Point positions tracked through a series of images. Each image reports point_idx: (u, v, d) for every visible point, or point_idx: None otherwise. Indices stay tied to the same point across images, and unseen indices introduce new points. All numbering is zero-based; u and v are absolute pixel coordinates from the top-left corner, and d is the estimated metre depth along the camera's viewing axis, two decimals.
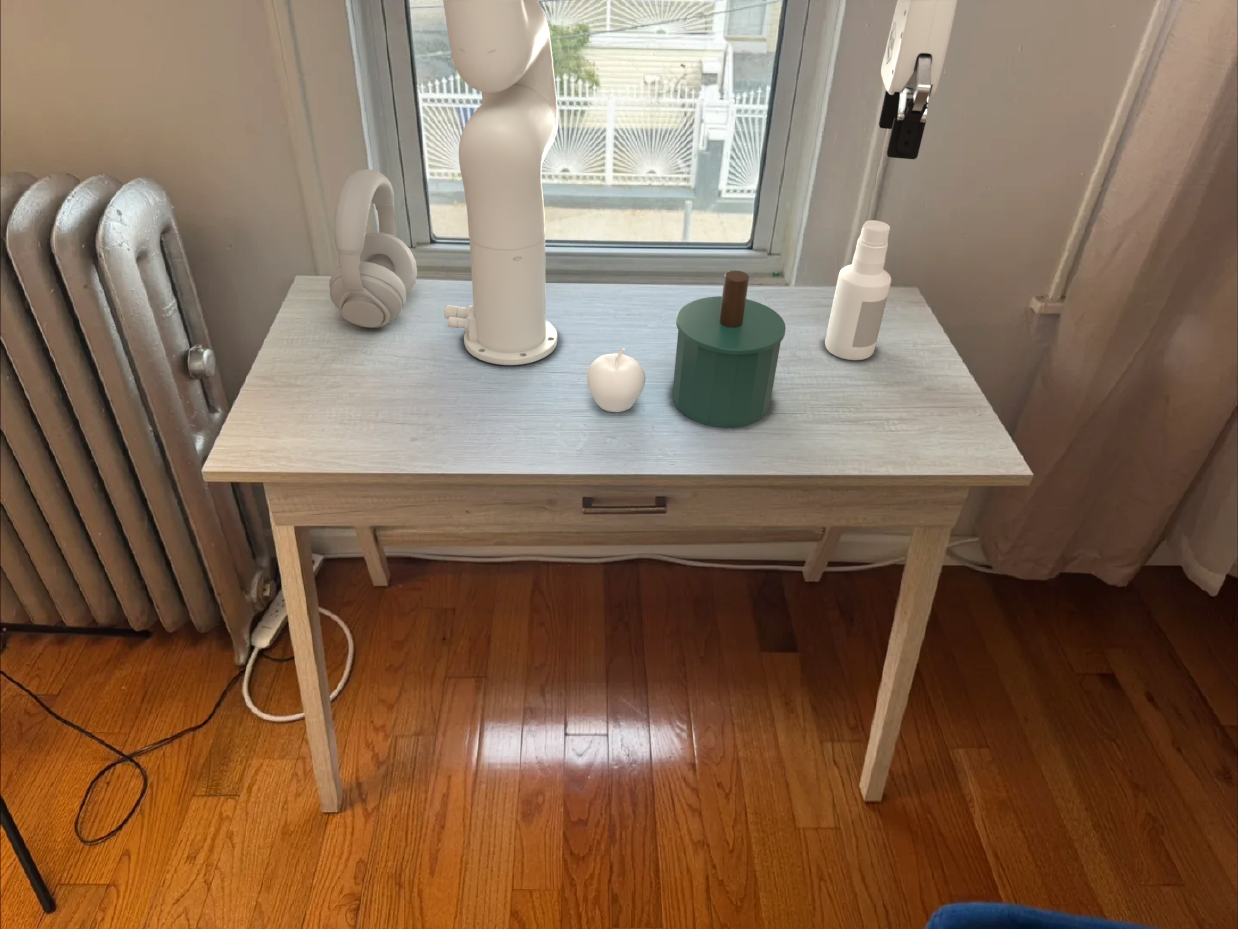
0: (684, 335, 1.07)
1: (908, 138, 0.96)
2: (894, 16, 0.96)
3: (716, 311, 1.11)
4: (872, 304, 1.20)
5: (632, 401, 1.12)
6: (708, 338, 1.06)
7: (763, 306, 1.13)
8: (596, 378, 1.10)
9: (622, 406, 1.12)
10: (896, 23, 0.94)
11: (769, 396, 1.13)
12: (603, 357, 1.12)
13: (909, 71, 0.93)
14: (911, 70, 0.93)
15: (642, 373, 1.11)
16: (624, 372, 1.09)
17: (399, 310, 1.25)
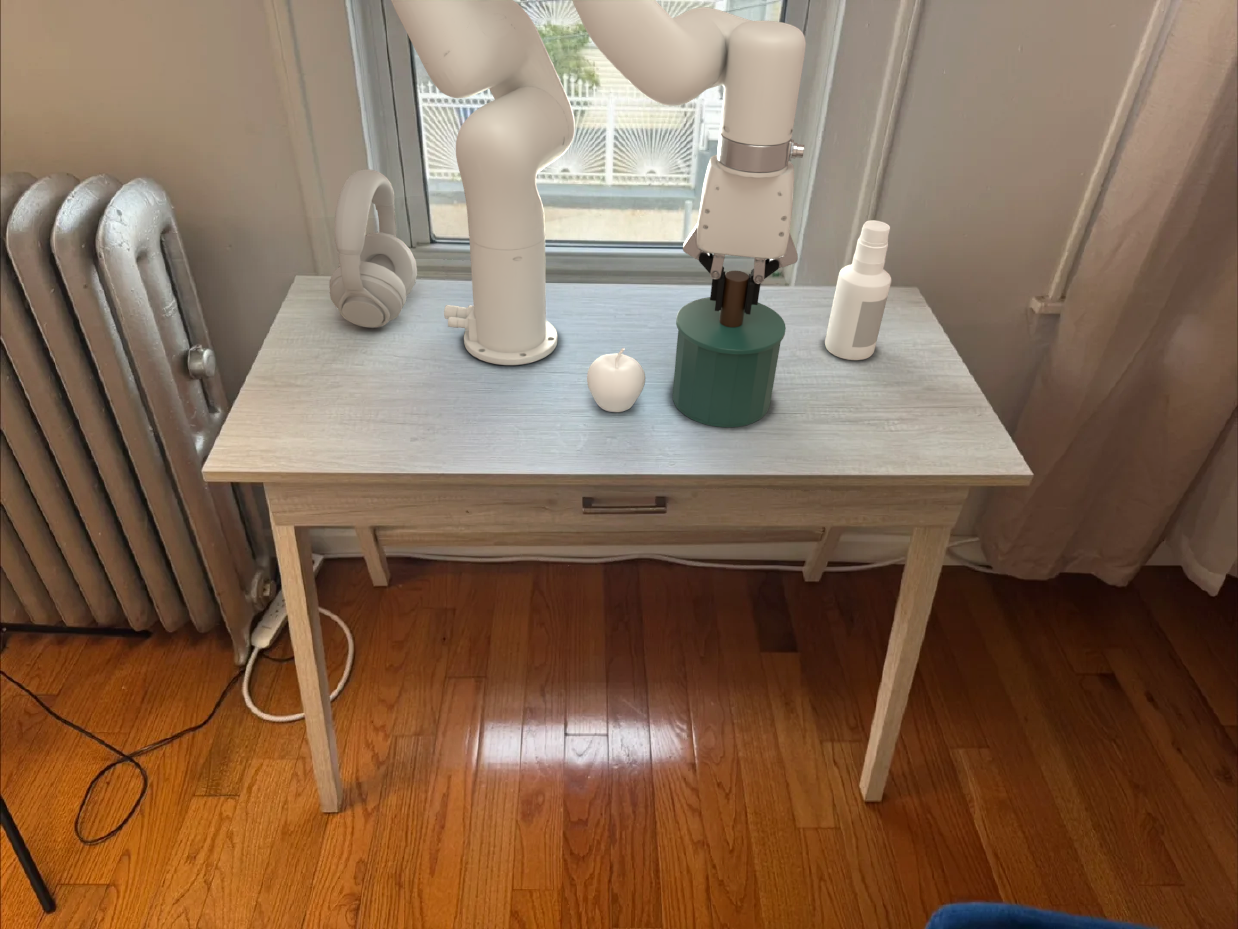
0: (684, 335, 1.07)
1: None
2: None
3: (716, 311, 1.11)
4: (872, 304, 1.20)
5: (632, 401, 1.12)
6: (708, 338, 1.06)
7: (763, 306, 1.13)
8: (596, 378, 1.10)
9: (622, 406, 1.12)
10: None
11: (769, 396, 1.13)
12: (603, 357, 1.12)
13: None
14: (698, 218, 1.03)
15: (642, 373, 1.11)
16: (624, 372, 1.09)
17: (399, 310, 1.25)
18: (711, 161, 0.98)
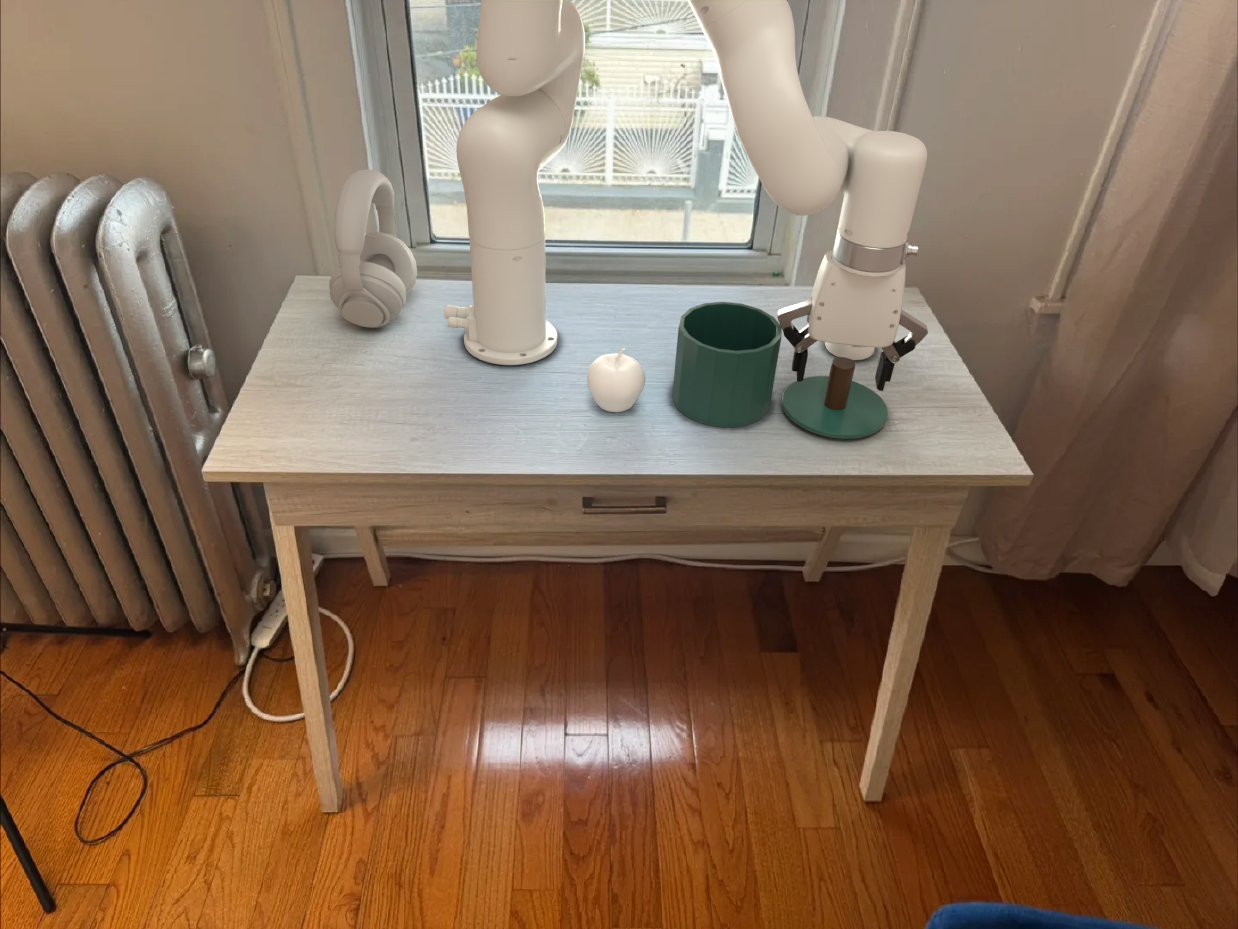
0: (792, 418, 1.12)
1: (793, 359, 1.11)
2: None
3: (819, 392, 1.16)
4: None
5: (632, 401, 1.12)
6: (816, 422, 1.11)
7: (862, 386, 1.18)
8: (596, 378, 1.10)
9: (622, 406, 1.12)
10: None
11: (769, 396, 1.13)
12: (603, 357, 1.12)
13: None
14: None
15: (642, 373, 1.11)
16: (624, 372, 1.09)
17: (399, 310, 1.25)
18: (827, 258, 1.03)
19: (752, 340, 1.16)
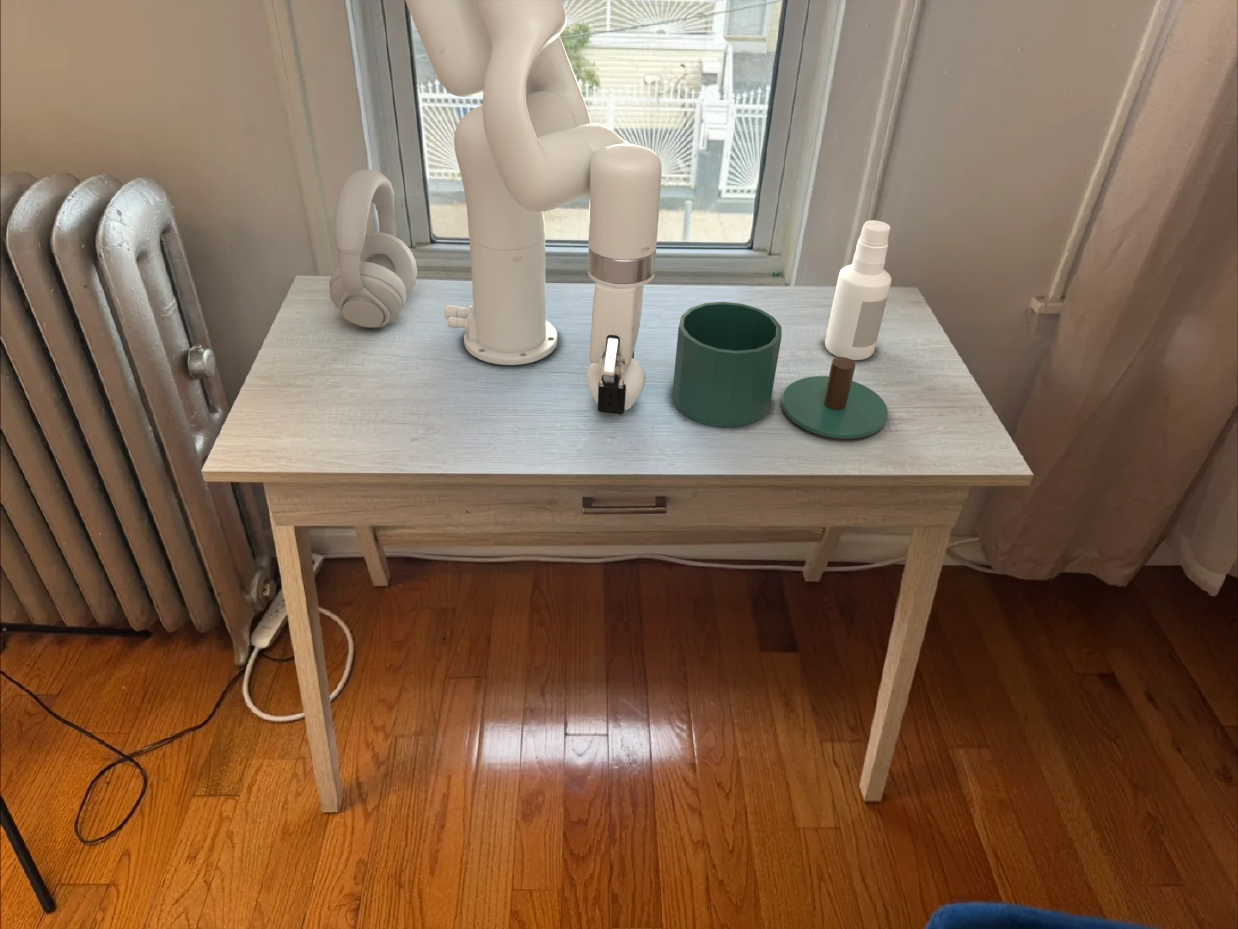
0: (792, 418, 1.12)
1: (611, 400, 1.08)
2: None
3: (819, 392, 1.16)
4: (872, 304, 1.20)
5: (632, 401, 1.12)
6: (816, 422, 1.11)
7: (862, 386, 1.18)
8: (596, 378, 1.10)
9: None
10: None
11: (769, 396, 1.13)
12: None
13: (602, 348, 1.04)
14: (603, 347, 1.04)
15: (642, 373, 1.11)
16: None
17: (399, 310, 1.25)
18: (616, 290, 1.00)
19: (752, 340, 1.16)
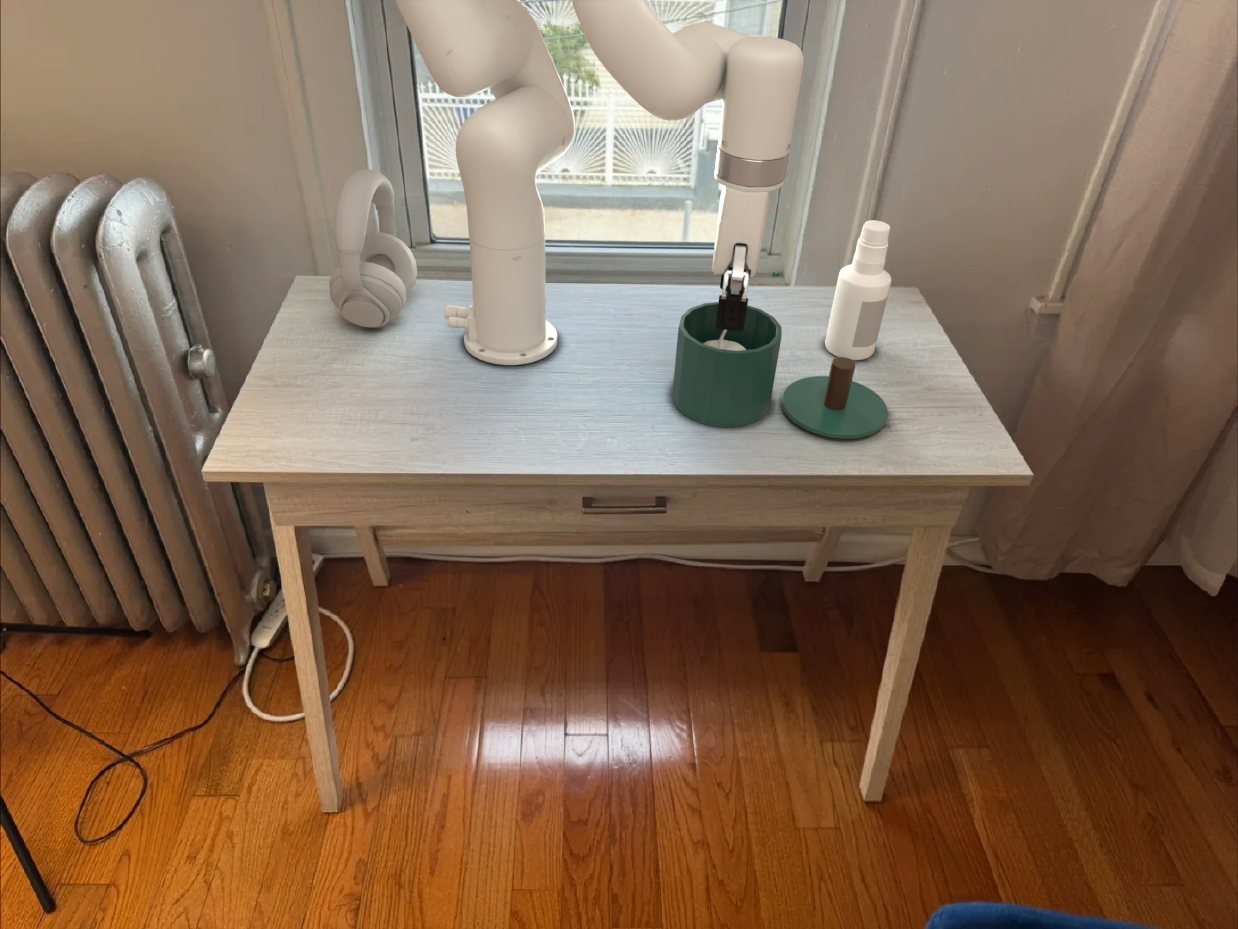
0: (792, 418, 1.12)
1: (732, 314, 1.02)
2: None
3: (819, 392, 1.16)
4: (872, 304, 1.20)
5: None
6: (816, 422, 1.11)
7: (862, 386, 1.18)
8: None
9: None
10: None
11: (769, 396, 1.13)
12: (707, 342, 1.15)
13: (728, 257, 0.99)
14: (730, 257, 0.99)
15: None
16: None
17: (399, 310, 1.25)
18: (748, 193, 0.95)
19: (752, 340, 1.16)
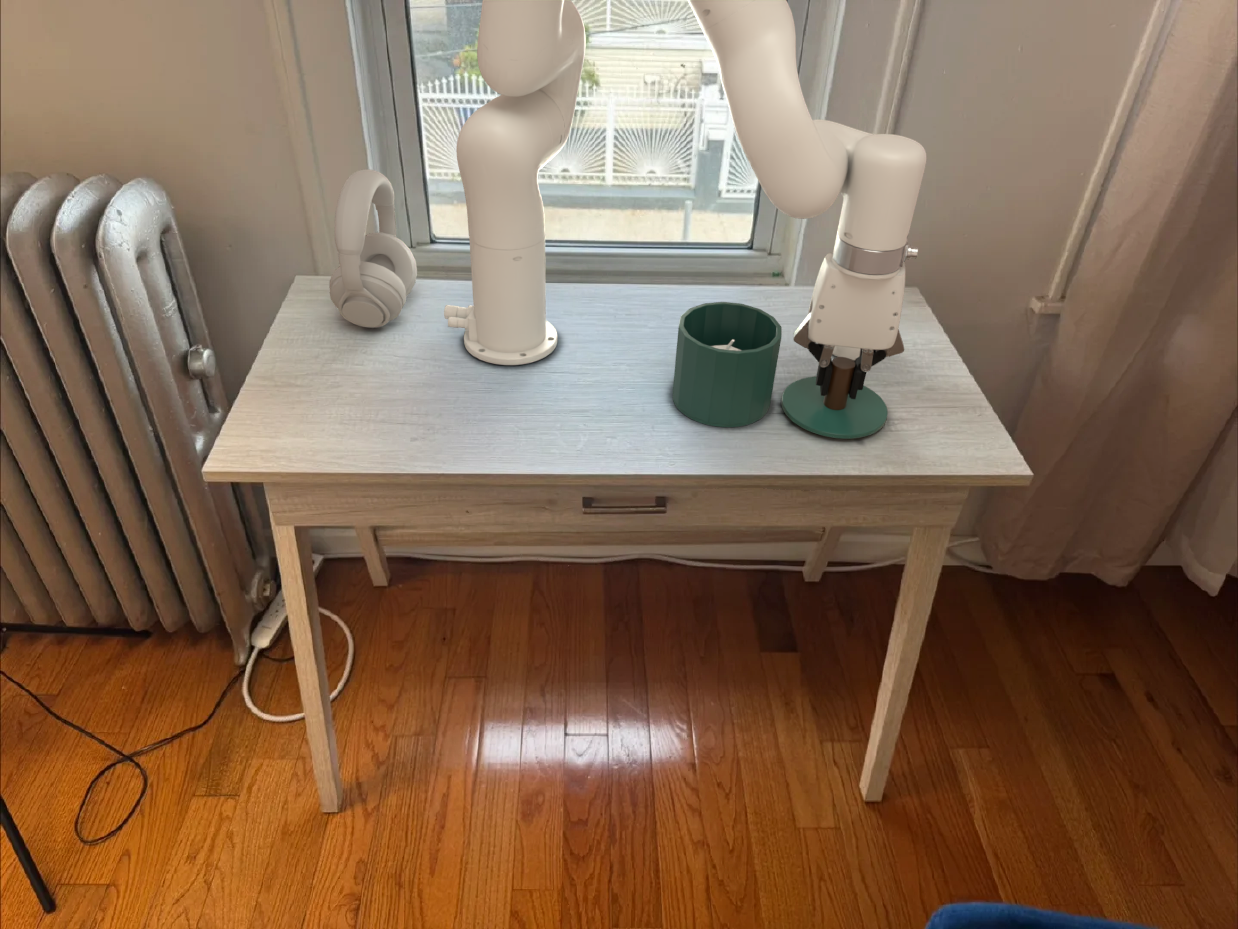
0: (792, 418, 1.12)
1: (817, 373, 1.12)
2: None
3: (819, 392, 1.16)
4: None
5: None
6: (816, 422, 1.11)
7: None
8: None
9: None
10: None
11: (769, 396, 1.13)
12: None
13: None
14: (809, 310, 1.08)
15: None
16: None
17: (399, 310, 1.25)
18: (827, 260, 1.03)
19: (752, 340, 1.16)
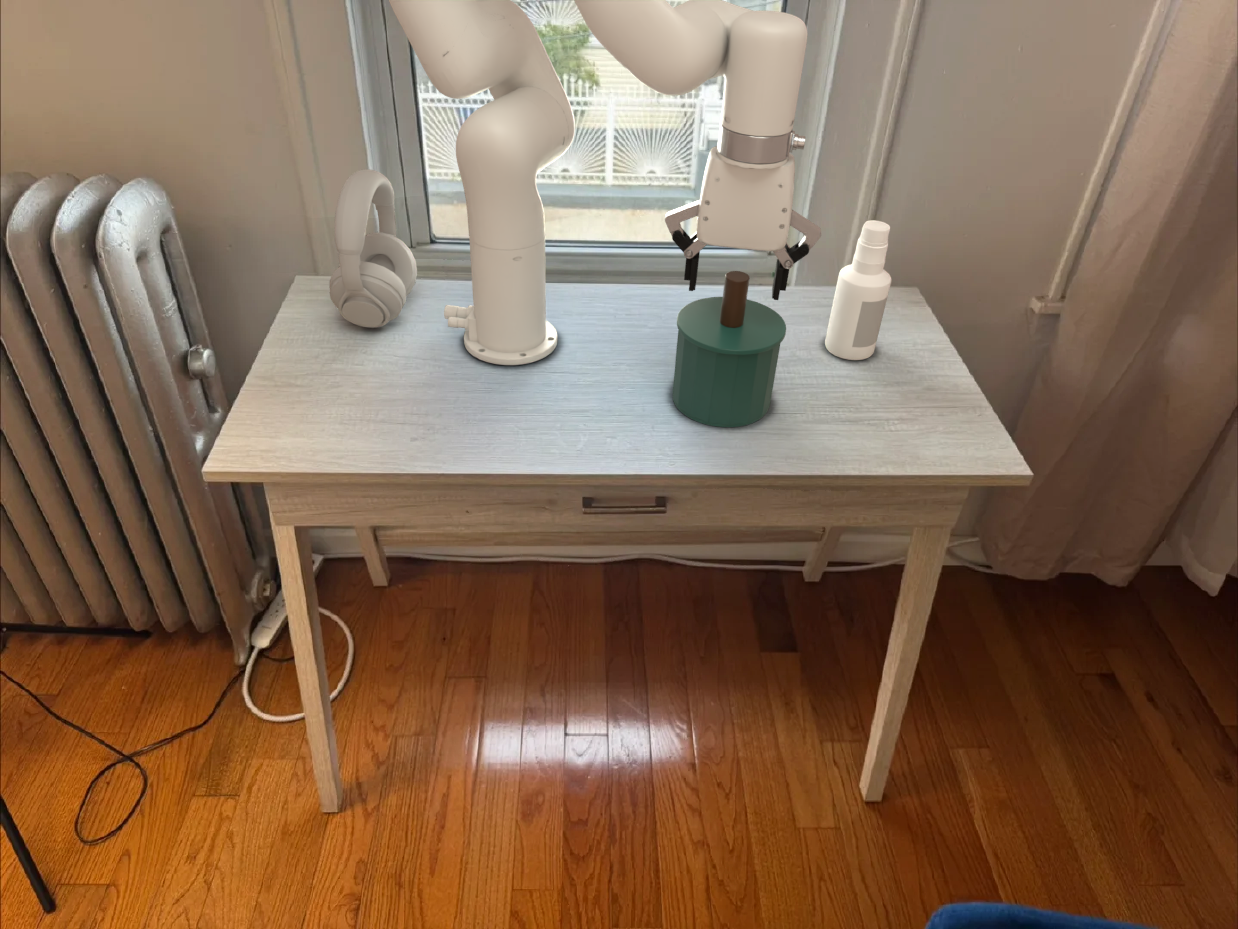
0: (685, 335, 1.07)
1: None
2: None
3: (717, 311, 1.11)
4: (872, 304, 1.20)
5: None
6: (709, 339, 1.06)
7: (763, 306, 1.13)
8: None
9: None
10: None
11: (769, 396, 1.13)
12: None
13: None
14: None
15: None
16: None
17: (399, 310, 1.25)
18: (711, 152, 0.98)
19: None
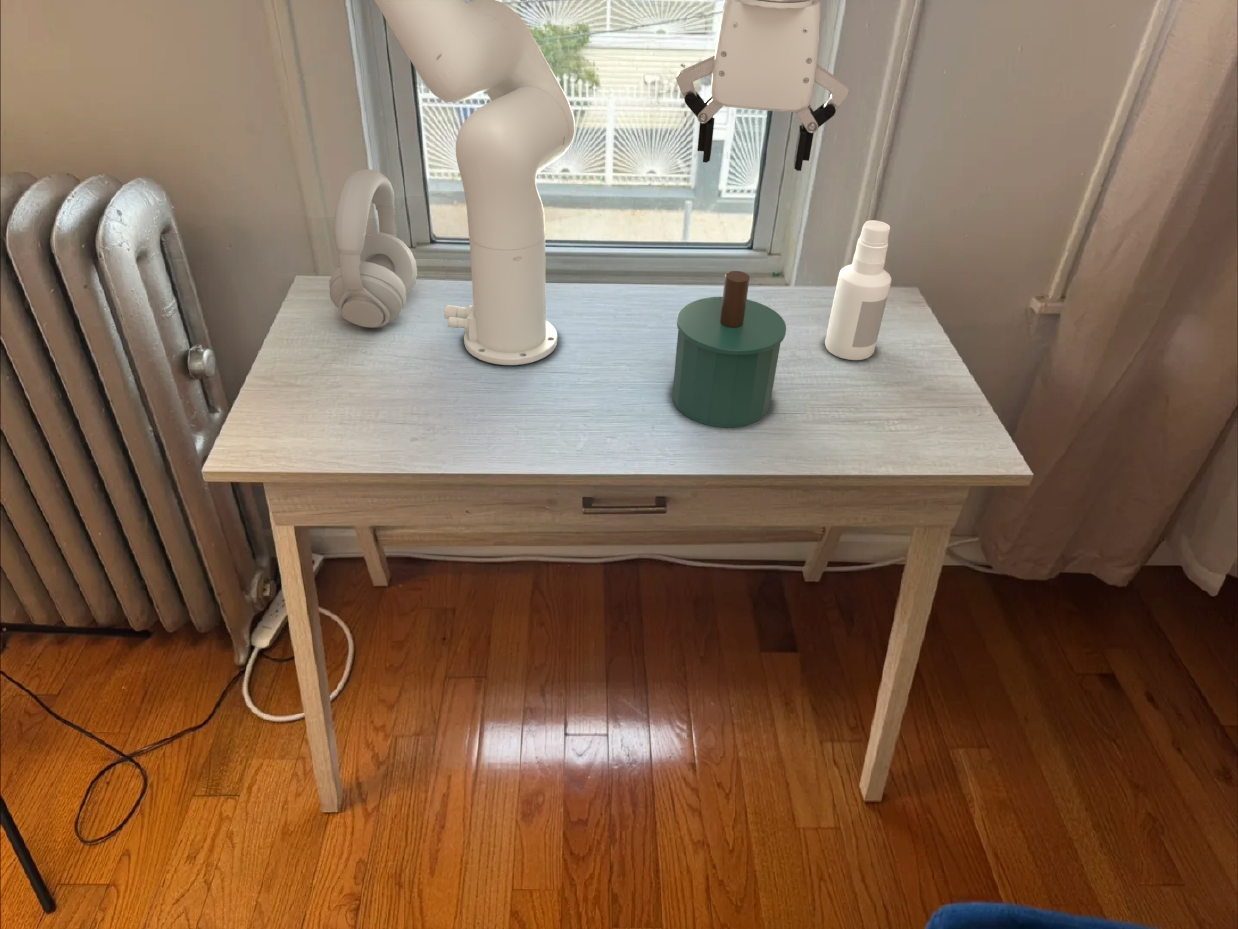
0: (685, 335, 1.07)
1: None
2: None
3: (717, 311, 1.11)
4: (872, 304, 1.20)
5: None
6: (709, 339, 1.06)
7: (763, 306, 1.13)
8: None
9: None
10: None
11: (769, 396, 1.13)
12: None
13: None
14: None
15: None
16: None
17: (399, 310, 1.25)
18: None
19: None
